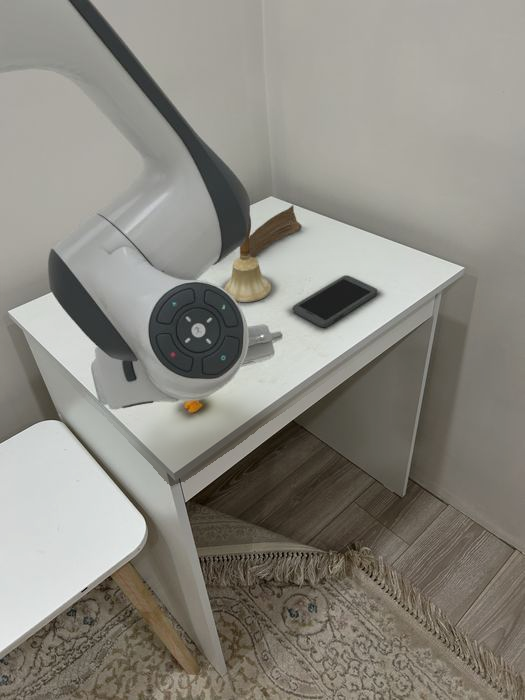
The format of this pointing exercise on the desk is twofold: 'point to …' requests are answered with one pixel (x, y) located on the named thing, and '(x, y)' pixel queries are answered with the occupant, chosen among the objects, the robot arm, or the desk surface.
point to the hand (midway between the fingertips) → (183, 369)
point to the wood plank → (273, 230)
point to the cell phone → (334, 301)
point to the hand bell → (247, 276)
